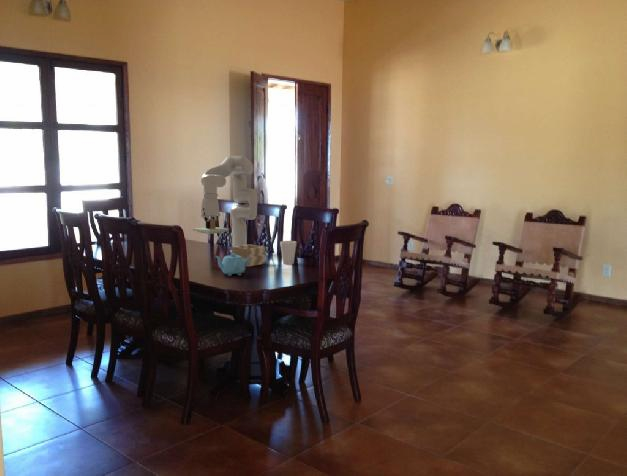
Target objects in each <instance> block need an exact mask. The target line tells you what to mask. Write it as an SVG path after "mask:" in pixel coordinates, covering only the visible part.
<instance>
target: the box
mask: <svg viewBox="0 0 627 476" xmlns="http://www.w3.org/2000/svg"><path fill="white" fill-rule="evenodd" d="M231 250H232V253H234V254H235V255H238V256H241V257H242V259H243V261H245V260H246V259H247V258H248V257H249V258H250V259H251V260H250V261H249V262H248V263H247V265H246V266H245V267H253V266H258V265H264V264H266V263H267V261H266V260H267V259H266V258H267V257H266V255H267V248H266V246H263V245H256V244H251V243H250V244H247V245H241V246H234V247H232V246H231ZM232 253H231V254H232Z"/></svg>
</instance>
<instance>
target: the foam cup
mask: <svg viewBox="0 0 627 476" xmlns="http://www.w3.org/2000/svg"><path fill="white" fill-rule="evenodd" d="M279 244H280V246H279V247H280V250H281V258H282V264H283V265H294V262H295V257H296V256H295V255H296V249H297V248H296V247H297V241H295V240H282V241H280V242H279Z"/></svg>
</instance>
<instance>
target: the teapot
mask: <svg viewBox="0 0 627 476" xmlns="http://www.w3.org/2000/svg"><path fill="white" fill-rule="evenodd" d="M214 257H215V258H217V264H218V267H219V268H220V269H221V271H222V272H223V273H224V275H227V277H232V276H233V274H237V276H243V275H242V273H245V270H246V267H247V266H246V265H247V263H248V262H249V261H250V260H251V259H250V258H249V257H248V258H247V259H246V260H245V261H243V259H242V257H241V256H238V255H235V254H234V253H230V255H225V256H224V257H223V258H222V261H221V258H220V256H218V255H215V256H214Z"/></svg>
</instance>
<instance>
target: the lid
mask: <svg viewBox="0 0 627 476" xmlns="http://www.w3.org/2000/svg"><path fill="white" fill-rule="evenodd" d="M209 221H210V228H206V226H205V227H194V228H192V232H193V231H194V232H197V233H199V234H208V235H212V234H214V235H215V234H223V233H225V232H227V231H230V229H229V228H226V227H217V226H216V228H215V219H212V218H209Z"/></svg>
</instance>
